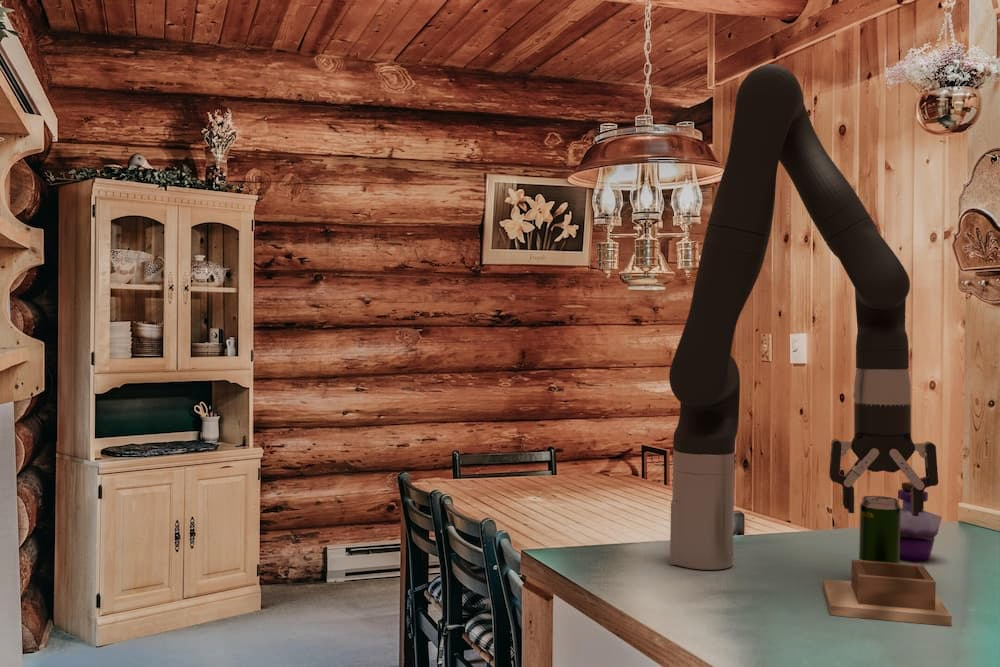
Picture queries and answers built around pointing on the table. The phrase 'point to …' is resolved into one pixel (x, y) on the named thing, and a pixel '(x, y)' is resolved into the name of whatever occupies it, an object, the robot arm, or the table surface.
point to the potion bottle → (916, 529)
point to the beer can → (879, 529)
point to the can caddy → (887, 594)
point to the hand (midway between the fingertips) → (882, 513)
